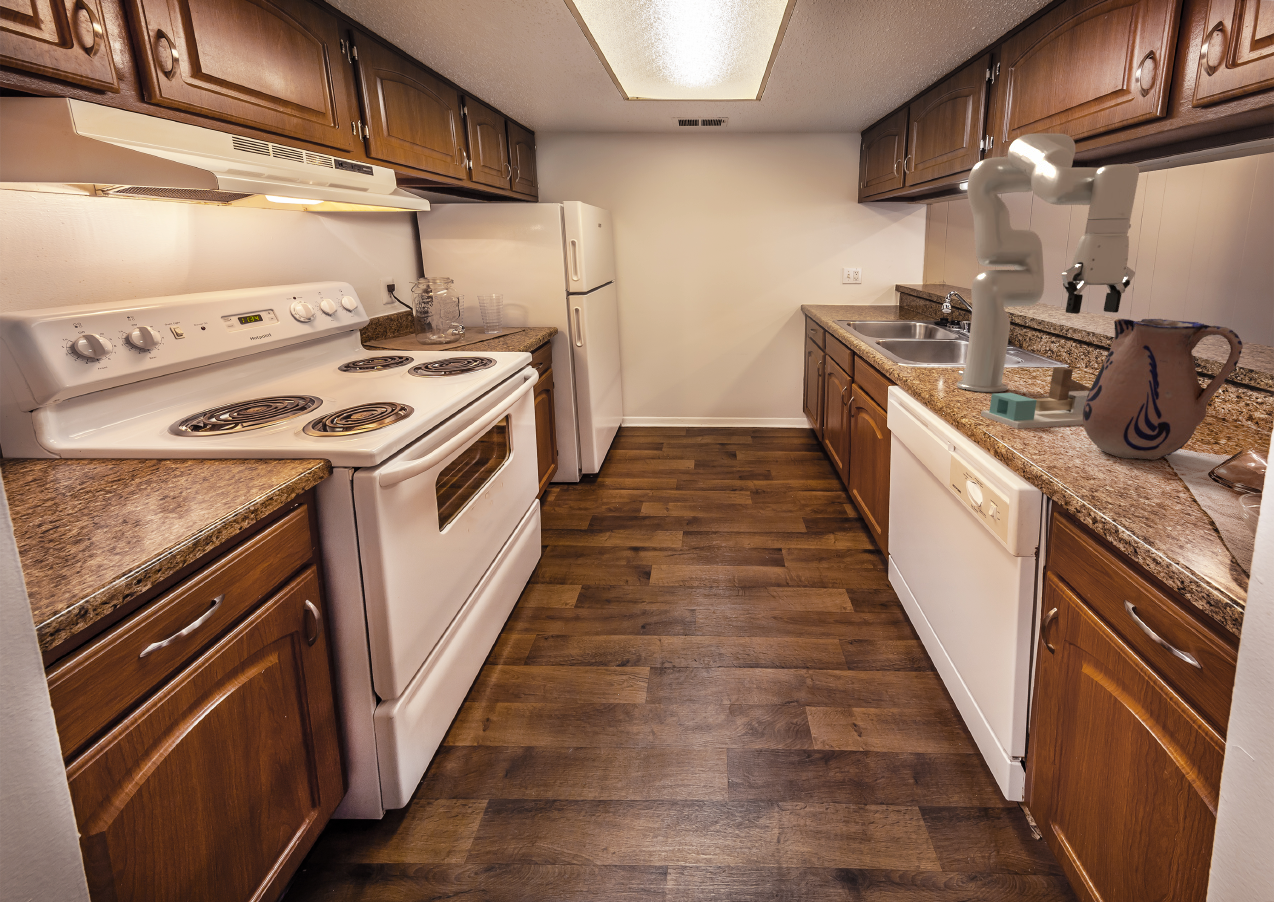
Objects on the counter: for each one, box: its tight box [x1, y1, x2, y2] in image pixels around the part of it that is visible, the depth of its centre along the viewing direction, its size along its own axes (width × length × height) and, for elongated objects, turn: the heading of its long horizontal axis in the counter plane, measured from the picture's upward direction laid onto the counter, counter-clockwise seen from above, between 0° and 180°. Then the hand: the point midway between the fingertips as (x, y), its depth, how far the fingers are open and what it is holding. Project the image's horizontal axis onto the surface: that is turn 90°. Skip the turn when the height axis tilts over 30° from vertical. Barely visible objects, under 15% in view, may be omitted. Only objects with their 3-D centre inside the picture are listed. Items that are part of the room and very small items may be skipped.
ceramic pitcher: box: [1083, 318, 1244, 461], centre depth 127 cm, size 18×21×25 cm
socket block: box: [989, 392, 1037, 421], centre depth 155 cm, size 5×8×4 cm, turn 11°
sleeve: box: [1058, 391, 1089, 415], centre depth 158 cm, size 7×4×4 cm, turn 101°
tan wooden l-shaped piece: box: [1034, 366, 1074, 412], centre depth 156 cm, size 17×3×9 cm, turn 101°
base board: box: [980, 409, 1084, 429], centre depth 157 cm, size 26×12×1 cm, turn 101°
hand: (1091, 312), depth 148 cm, fingers open, 9 cm apart
